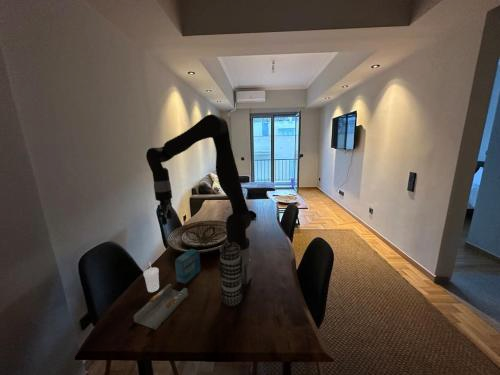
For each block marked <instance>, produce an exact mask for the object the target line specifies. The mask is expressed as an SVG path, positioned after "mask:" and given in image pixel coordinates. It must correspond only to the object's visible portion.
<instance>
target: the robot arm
mask: <svg viewBox="0 0 500 375" xmlns="http://www.w3.org/2000/svg"><path fill="white" fill-rule="evenodd" d="M230 137H231V136H230V131H229V125H228V122H227V121H226V119H225V118H224V117H222V116H219V115H217V114H207V115H205V116H203V118H201V119H200V120H199V121H197V122H196V123H195V124H194V125H192V126H191V127H190V128H188V129H186V130H185V131H184V132H182V133H180V134H179V135H177V136H175V137H173V138H171V139H169V140H167V141H166V142H165V143H164V145H163V146H161V147H150V148H148V150H147V151H146V154H145V155H146V156H145V157H146V162H147V163H148V166H149V168H150V171H151V172H152V179H153V180H152V181H153V190H154V197H155V198H154V199H155V201H157V202H159V204H157V213H158V218H160V220H161V225H162V226H164V225H165V226H166V225H168V219H170V220H171V219H172V209H173V206H172V199H173V194H172V184H171V180H170V175H169V174H170V173H169V169H168V168H167V167H164V166H163V164H162V163H165V162H168V161H170V160H172V159H173V158H174V157H175V156H178V155H180V154H182V153H183V152H185V151H187V150H189V149H190V148H191V147H192V146H193V145H194V144H196V143H198V142H199V141H202V140H205V139H209V138H210V139H212V141H213V144H214V148H215V152H216V153H215V154H216V157H215V173H216V177H217V181H218V185H219V186H220V188H221V190H222V191H223V193H224V194H225V195H226V197H227V198H228V200H229V204H230V206H231V209H232V213H231V214H230V215H229V216H227V218H226V222H225V229H226V230H225V232H226V239H227V242H234V243H236V244H237V245H239V246H240V256H242V272H241V273H242V276H241V284H242V286H243V285H246V286H247V285H248V284H249V282H250V281H251V279H252V277H253V276H252V273H253V272H252V271H253V270H252V258H251V257H250V256H251V254H250V239H249V237H247V231H246V230H247V229H248V228H249V227H250V225H251V223H252V219H251V216H250V213H249V211H250V210H249V207H248V205H247V202H246V199H245V195H244V191H243V187H242V182H241V178H240V174H239V170H238V167H237V163H236V160H235V155H234V153H233V152H234V151H233V149H232V148H233V147H232V144H231V138H230ZM240 259H241V258H240ZM240 262H241V261H240Z"/></svg>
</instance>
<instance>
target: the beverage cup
mask: <svg viewBox="0 0 500 375" xmlns="http://www.w3.org/2000/svg"><path fill="white" fill-rule="evenodd" d="M148 263H149V268H147V269H146V270H144V271H143V274H142V275H143V277H144V280H145V286H146V289H147V292H148V293H154V292H157V291H158V290H159V288H160V281H159V278H160V277H159V276H160V275H159V268H158V267H152V264H151V260H149V261H148Z"/></svg>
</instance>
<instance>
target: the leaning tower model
mask: <svg viewBox="0 0 500 375" xmlns="http://www.w3.org/2000/svg"><path fill="white" fill-rule="evenodd" d="M219 253H220V257H219V259H220V260H219V262H218V263H219V264H218V266H219V274H220V275H219V276H220V279H221V287H220V289H221V290H220V292H221V294H220V295H221V301H222V303H223V304H225V305H226V306H230V307H232V306H236V305H239V304H240V303H241V301H242V299H243V298H244V297H243V295H244V294H243V285H242V284H241V276H242V273H241V272H242V256H240V246H239V245H237V244H236V243H234V242H228V241H227V242H225V243H223V244H222V245H221V246H220V247H219ZM240 258H241V259H240ZM240 261H241V262H240Z"/></svg>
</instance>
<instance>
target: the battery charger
mask: <svg viewBox="0 0 500 375" xmlns="http://www.w3.org/2000/svg"><path fill="white" fill-rule="evenodd" d="M249 213H250V216H251V220H253V219H254V220H255V219H257V213H256V212H255V211H253V210H249Z"/></svg>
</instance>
